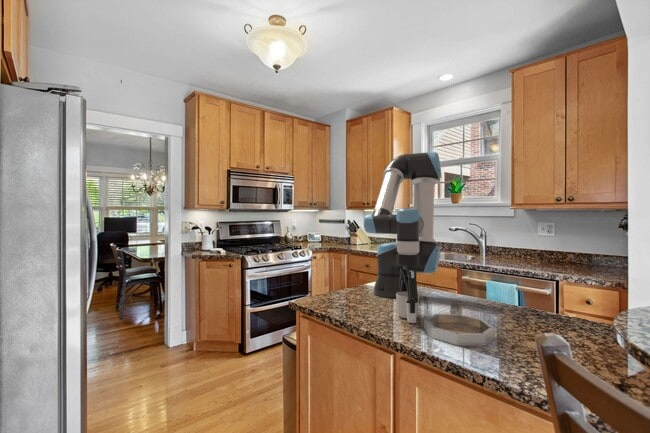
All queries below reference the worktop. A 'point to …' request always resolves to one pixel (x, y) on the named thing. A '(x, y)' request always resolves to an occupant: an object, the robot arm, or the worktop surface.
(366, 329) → the worktop surface
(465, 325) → the octagonal tray
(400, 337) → the worktop surface
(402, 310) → the cup
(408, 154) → the robot arm
